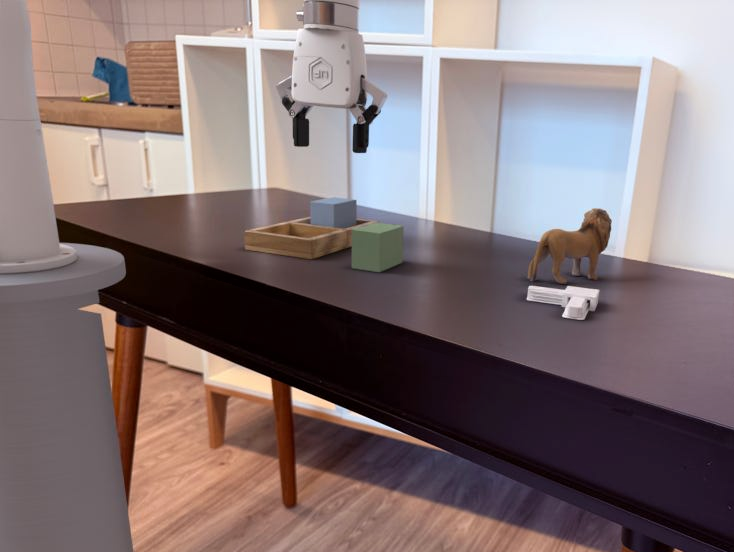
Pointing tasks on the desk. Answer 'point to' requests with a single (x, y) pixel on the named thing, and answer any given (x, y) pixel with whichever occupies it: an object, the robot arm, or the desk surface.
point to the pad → (377, 247)
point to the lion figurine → (574, 245)
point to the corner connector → (567, 299)
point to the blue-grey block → (333, 212)
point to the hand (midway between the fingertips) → (330, 149)
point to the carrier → (301, 238)
